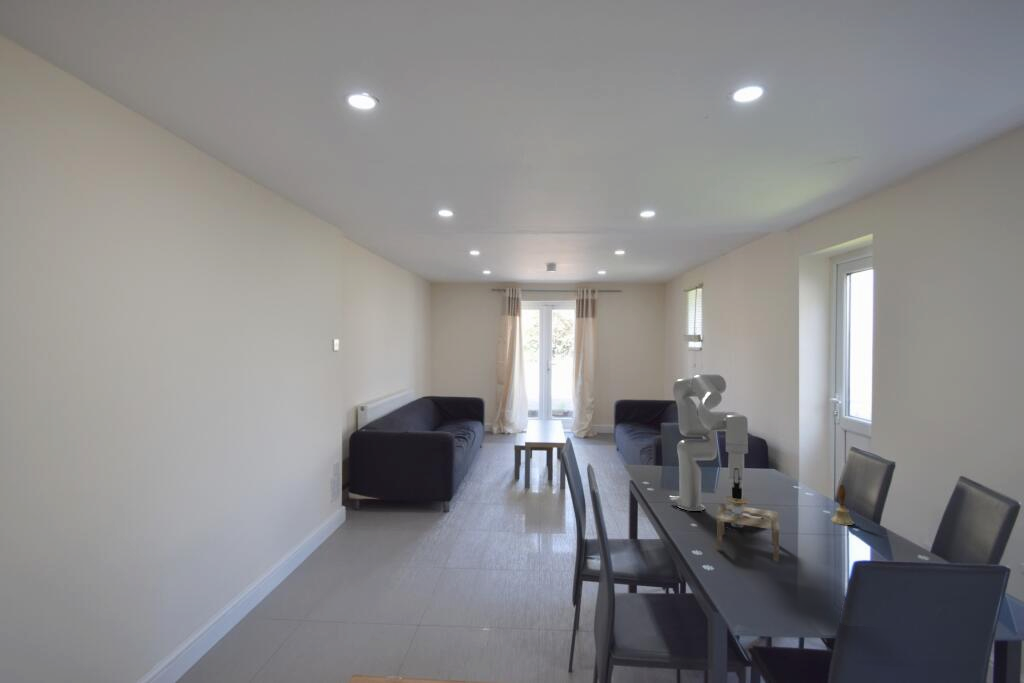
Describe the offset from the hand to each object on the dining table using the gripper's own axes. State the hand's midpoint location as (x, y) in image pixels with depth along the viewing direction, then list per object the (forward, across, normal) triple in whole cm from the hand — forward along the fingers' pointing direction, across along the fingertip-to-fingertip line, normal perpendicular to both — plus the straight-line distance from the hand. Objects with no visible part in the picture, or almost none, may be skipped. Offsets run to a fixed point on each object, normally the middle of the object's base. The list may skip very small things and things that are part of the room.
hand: (737, 496), depth 174 cm
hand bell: (+18, -48, +39) cm, 65 cm away
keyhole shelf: (+18, 0, +3) cm, 19 cm away
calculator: (+19, -23, +1) cm, 30 cm away
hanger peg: (+11, 0, 0) cm, 11 cm away
